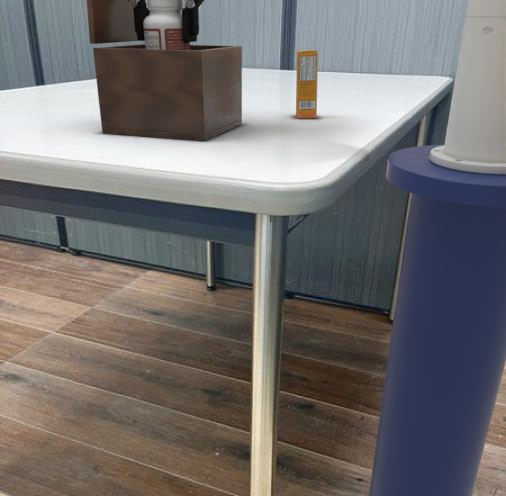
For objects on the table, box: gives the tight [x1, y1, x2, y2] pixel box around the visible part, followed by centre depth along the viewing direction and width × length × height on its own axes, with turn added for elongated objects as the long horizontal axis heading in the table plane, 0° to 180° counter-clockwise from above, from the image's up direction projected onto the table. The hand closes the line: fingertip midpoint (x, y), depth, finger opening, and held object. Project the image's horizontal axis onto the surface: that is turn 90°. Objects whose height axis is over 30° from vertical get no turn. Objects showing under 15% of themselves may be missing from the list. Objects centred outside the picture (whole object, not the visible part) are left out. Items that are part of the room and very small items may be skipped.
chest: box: [92, 43, 243, 142], centre depth 84 cm, size 16×15×11 cm
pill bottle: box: [143, 0, 191, 50], centre depth 81 cm, size 6×6×11 cm
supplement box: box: [295, 49, 319, 120], centre depth 95 cm, size 3×3×10 cm
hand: (167, 39), depth 81 cm, fingers closed on pill bottle, 6 cm apart
